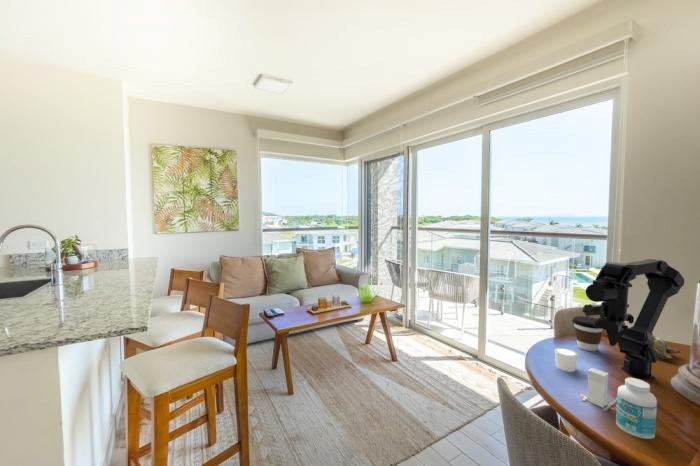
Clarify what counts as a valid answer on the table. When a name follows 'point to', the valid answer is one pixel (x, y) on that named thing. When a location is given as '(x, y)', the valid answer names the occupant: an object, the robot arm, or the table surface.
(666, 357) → the ceramic sculpture
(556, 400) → the table surface
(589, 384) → the fader tab
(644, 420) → the pill bottle
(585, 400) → the console
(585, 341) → the coffee cup
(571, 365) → the white cylinder
